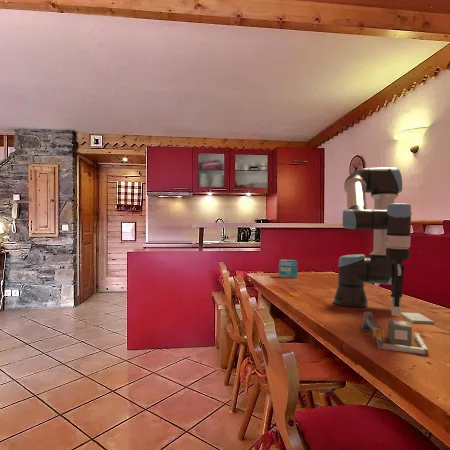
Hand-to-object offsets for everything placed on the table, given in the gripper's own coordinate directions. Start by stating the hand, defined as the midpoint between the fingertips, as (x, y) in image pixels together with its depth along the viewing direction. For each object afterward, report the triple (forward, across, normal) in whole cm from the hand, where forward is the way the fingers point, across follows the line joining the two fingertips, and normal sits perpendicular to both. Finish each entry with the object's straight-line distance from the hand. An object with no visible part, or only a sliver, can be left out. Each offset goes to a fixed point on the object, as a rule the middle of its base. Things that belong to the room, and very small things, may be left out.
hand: (395, 315), depth 119 cm
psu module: (+6, +8, 0) cm, 11 cm away
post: (+6, -1, -9) cm, 11 cm away
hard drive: (+7, -24, +10) cm, 27 cm away
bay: (+6, +10, 0) cm, 12 cm away
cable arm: (+3, +9, -8) cm, 12 cm away
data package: (+8, -103, -56) cm, 117 cm away
